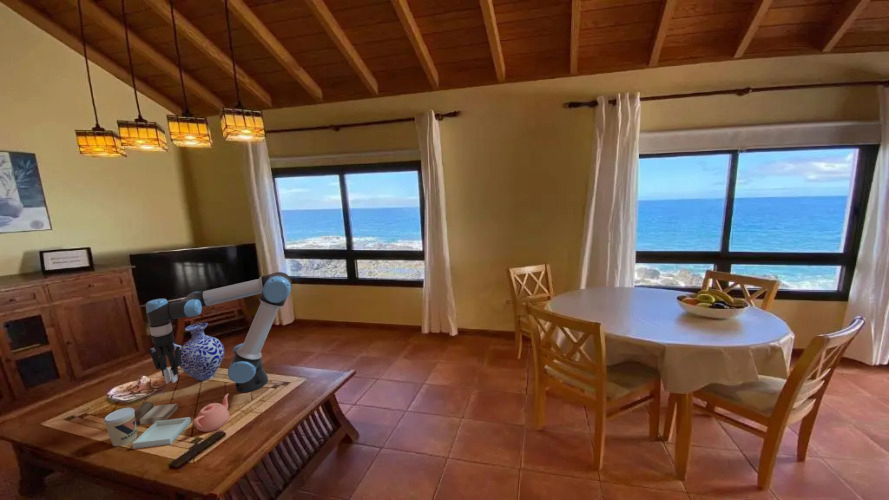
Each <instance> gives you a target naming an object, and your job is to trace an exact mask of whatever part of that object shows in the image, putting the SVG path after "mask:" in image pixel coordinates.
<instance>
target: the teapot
mask: <svg viewBox="0 0 889 500" xmlns="http://www.w3.org/2000/svg"><path fill="white" fill-rule="evenodd" d="M229 394H230V393H226V394H225V395H224V397H223V400H222V403H219V402H213V403H212V402H211V403H208V404H207V405H205V406H204V407H202V408H201V409H200V410H199V412H198V414H197V416H196V417H195V418H194V419H193V421H192V422H193V425H195V427H196V429H197V430H198V431H200V432H204V433H208V432H213V431H216V430H218V429H220V428H222V427H223V426H224V425H225V424H226V423H227V422H228V421H229V420H230V413H229V412H230V411H229V410H228V409H229V402H228V396H229Z"/></svg>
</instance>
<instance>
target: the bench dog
mask: <svg viewBox="0 0 889 500" xmlns="http://www.w3.org/2000/svg"><path fill="white" fill-rule="evenodd" d="M153 407H154V404H153V401H145V402H143V403H142V404H141V405H139V407H137V408H136V409H134V410H135V412H134V413H135V420H136V426H137V425H140V420H139V419H140V418H142V417H143V416H144V415H145V414H146V413H147V412H148V411H149V410H151V409H152V408H153Z"/></svg>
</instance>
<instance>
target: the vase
mask: <svg viewBox="0 0 889 500" xmlns="http://www.w3.org/2000/svg"><path fill="white" fill-rule="evenodd" d="M208 325H209V323H208V322H199V323H195V324H191V325H188V326H185V328H184V330H185V331H186V332H188V333H189V332H190V335H191V338H190V339H189V340H188V341H185V343H184V344H183V345H182V349H181V365H180V366H179V368H180V369H181V370H182V372H184V373H186V374H187V375H188V376H190V377H191V378H193V379H195V380H196V381H199V382H203V381H206V380H209V379H211V378H213V377H214V376H216V375H215V374H216V372H217V371H218V369H219V367H220V366H221V363H222V362H223V361H224V360H223V359H224V357H225V347H224V344H223V343H222V342H221V340H219V339H218V338H216V337H214V336H210V335H206V334H205V329H206V328H207V327H208Z"/></svg>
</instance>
